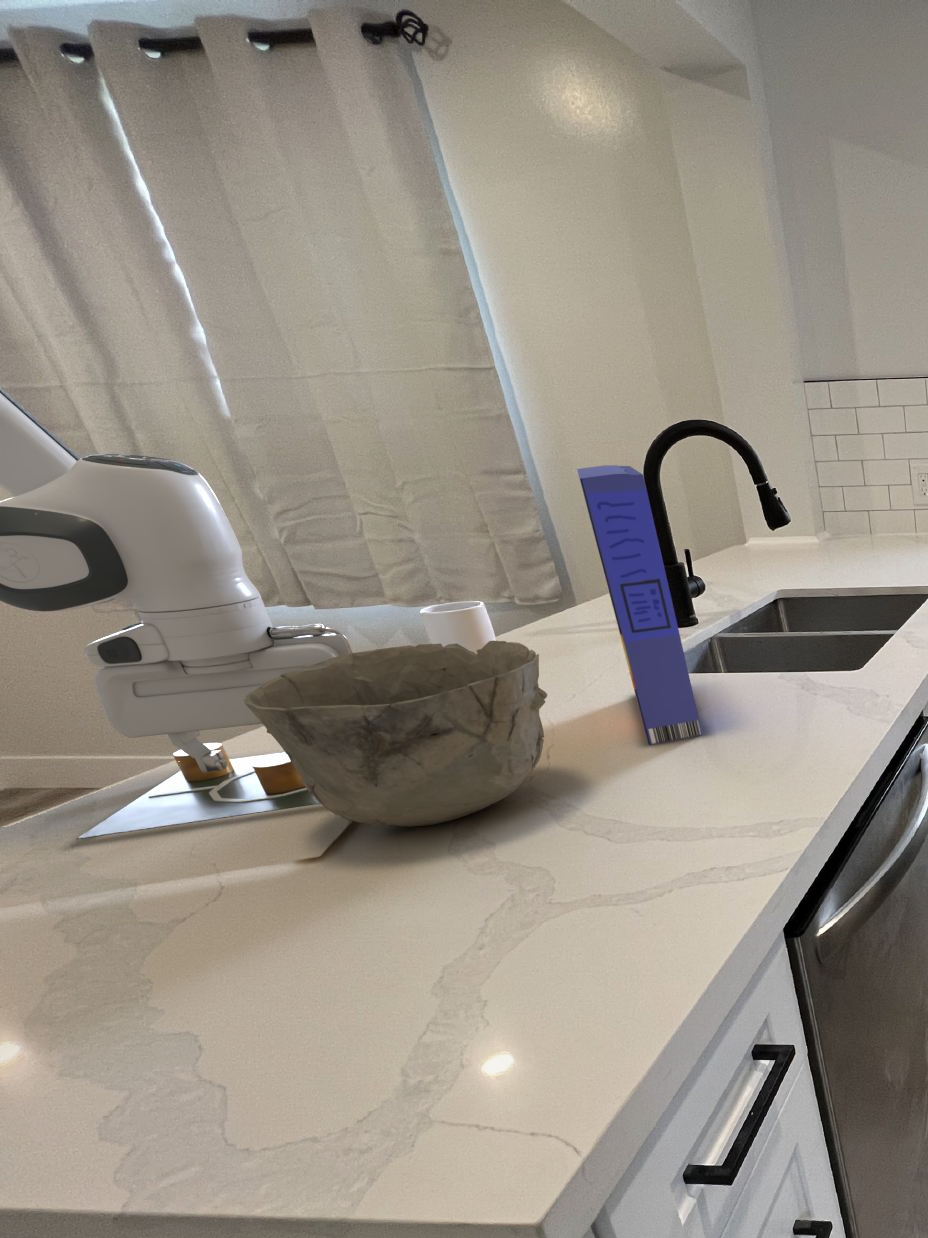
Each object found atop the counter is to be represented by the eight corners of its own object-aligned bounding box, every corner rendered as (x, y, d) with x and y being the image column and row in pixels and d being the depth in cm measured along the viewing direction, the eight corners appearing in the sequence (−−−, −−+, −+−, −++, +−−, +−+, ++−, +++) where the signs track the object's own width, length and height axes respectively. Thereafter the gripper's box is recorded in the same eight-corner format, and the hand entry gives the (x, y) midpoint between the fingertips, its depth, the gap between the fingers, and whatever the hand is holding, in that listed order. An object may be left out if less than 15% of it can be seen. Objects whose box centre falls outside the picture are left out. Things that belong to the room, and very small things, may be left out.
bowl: (608, 806, 85) (566, 660, 79) (338, 894, 71) (260, 724, 65) (533, 755, 99) (493, 627, 93) (295, 820, 85) (228, 674, 79)
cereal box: (636, 699, 118) (576, 466, 105) (682, 691, 120) (629, 463, 108) (649, 747, 100) (579, 476, 88) (703, 737, 103) (642, 472, 90)
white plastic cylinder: (531, 718, 112) (495, 603, 106) (476, 734, 107) (435, 614, 100) (504, 710, 115) (468, 598, 109) (450, 725, 110) (408, 609, 104)
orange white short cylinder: (257, 796, 88) (244, 769, 87) (274, 782, 92) (262, 756, 91) (303, 789, 90) (291, 763, 88) (319, 776, 93) (307, 750, 92)
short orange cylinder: (177, 784, 92) (164, 758, 91) (197, 770, 96) (184, 746, 94) (223, 778, 93) (210, 752, 92) (241, 765, 97) (229, 740, 96)
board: (80, 848, 81) (74, 837, 80) (193, 772, 98) (189, 763, 98) (332, 810, 87) (328, 801, 86) (397, 745, 104) (394, 737, 104)
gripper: (352, 615, 89) (398, 739, 95) (102, 636, 83) (167, 767, 89) (328, 628, 84) (378, 759, 90) (59, 651, 78) (131, 789, 84)
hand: (271, 763), depth 89 cm, fingers open, 8 cm apart
